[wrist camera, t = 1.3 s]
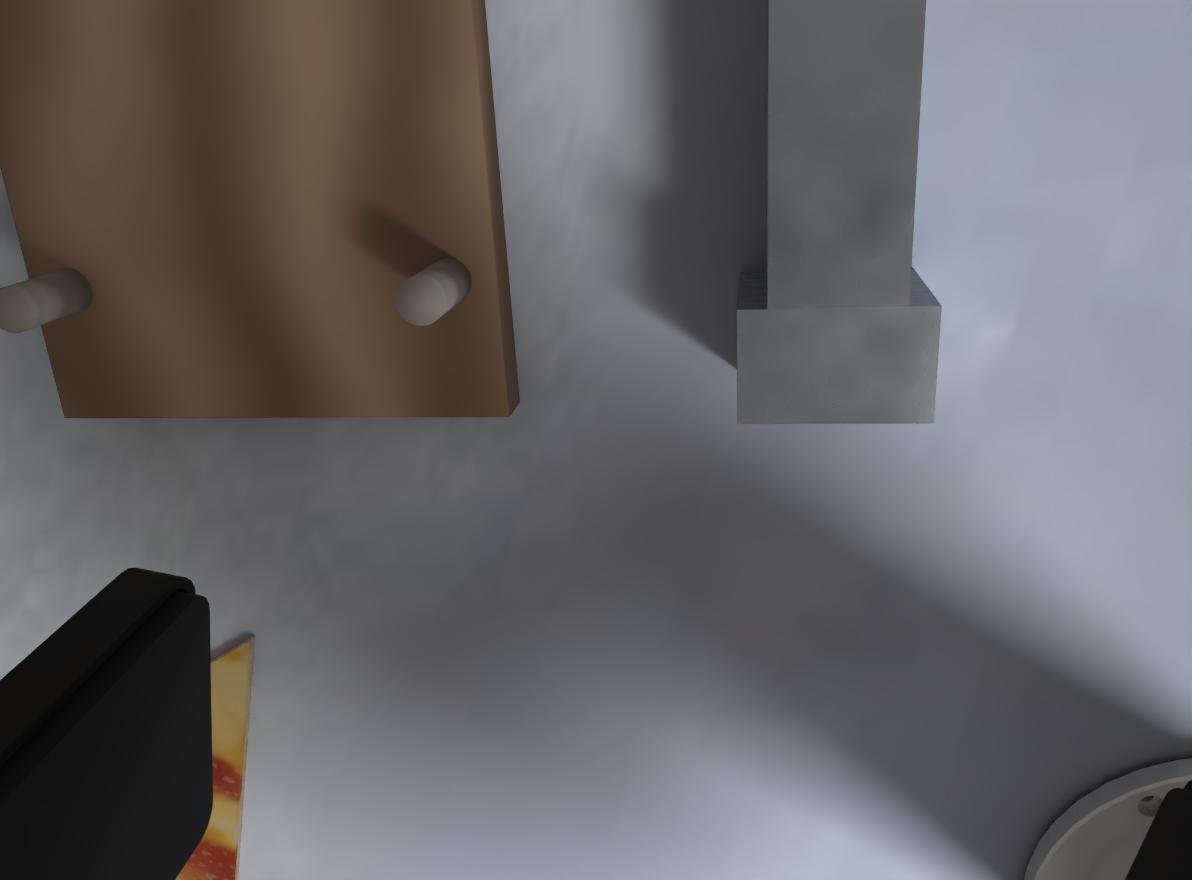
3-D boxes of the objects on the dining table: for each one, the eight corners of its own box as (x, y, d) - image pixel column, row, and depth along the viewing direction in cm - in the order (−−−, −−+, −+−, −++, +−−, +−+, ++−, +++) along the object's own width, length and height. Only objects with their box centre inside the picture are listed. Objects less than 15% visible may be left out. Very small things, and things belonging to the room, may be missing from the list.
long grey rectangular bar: (946, -319, 25) (989, -406, 20) (907, 369, 31) (933, 423, 27) (737, -295, 26) (732, -372, 21) (740, 371, 32) (737, 423, 27)
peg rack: (457, -307, 27) (402, -375, 22) (519, 402, 34) (485, 450, 29) (-67, -242, 29) (-204, -292, 25) (91, 404, 36) (4, 448, 32)
